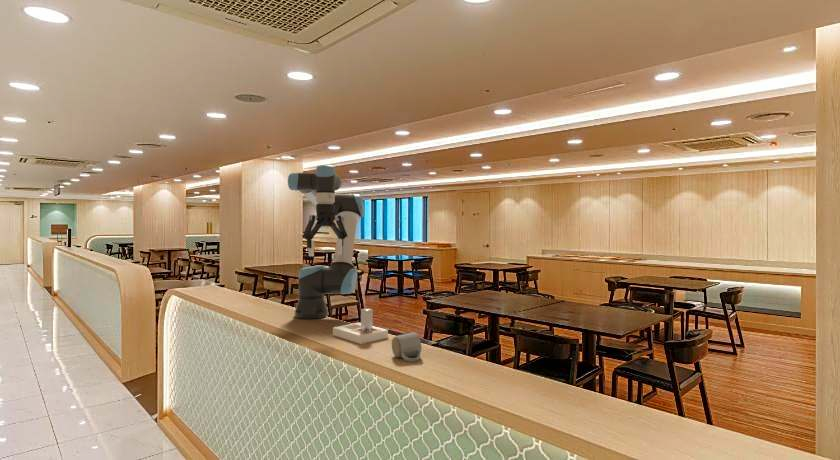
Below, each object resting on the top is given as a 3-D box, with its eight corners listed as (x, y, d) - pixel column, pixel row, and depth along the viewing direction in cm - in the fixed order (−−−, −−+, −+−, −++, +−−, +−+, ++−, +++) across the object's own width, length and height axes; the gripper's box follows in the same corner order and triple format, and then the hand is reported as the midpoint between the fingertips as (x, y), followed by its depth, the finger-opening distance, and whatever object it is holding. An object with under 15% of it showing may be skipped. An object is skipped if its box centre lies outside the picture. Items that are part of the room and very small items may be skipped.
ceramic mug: (390, 354, 155) (390, 332, 155) (412, 351, 158) (412, 329, 158) (403, 364, 145) (403, 340, 145) (426, 361, 149) (426, 337, 149)
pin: (361, 337, 178) (361, 308, 178) (373, 337, 178) (373, 308, 178) (360, 340, 174) (360, 310, 173) (371, 340, 174) (371, 311, 173)
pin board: (332, 335, 181) (332, 326, 181) (359, 329, 190) (359, 321, 190) (360, 344, 168) (360, 335, 168) (387, 337, 177) (388, 329, 177)
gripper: (303, 202, 177) (303, 257, 178) (355, 204, 195) (355, 254, 196) (293, 203, 182) (293, 256, 183) (345, 204, 200) (345, 253, 201)
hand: (325, 255), depth 189 cm, fingers open, 13 cm apart
